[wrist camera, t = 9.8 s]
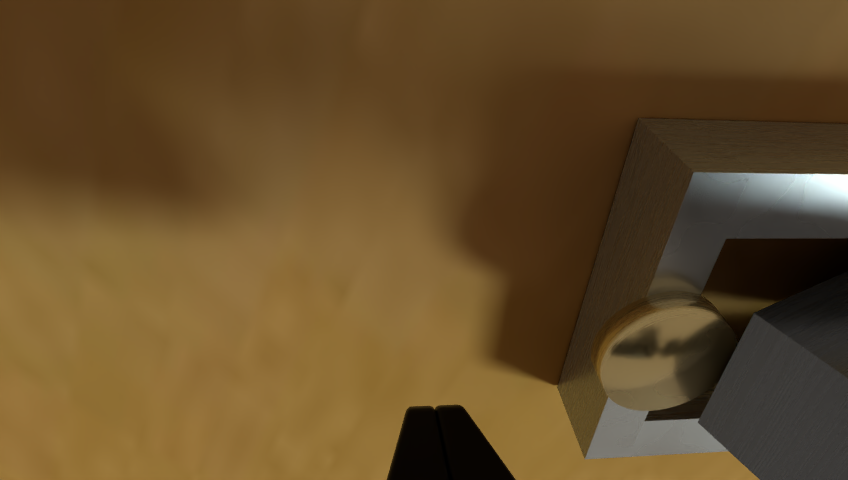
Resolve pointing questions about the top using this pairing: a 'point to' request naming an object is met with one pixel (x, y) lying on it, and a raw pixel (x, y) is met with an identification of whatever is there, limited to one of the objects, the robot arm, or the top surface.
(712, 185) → the end link
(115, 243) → the top surface
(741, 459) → the block with brass studs
